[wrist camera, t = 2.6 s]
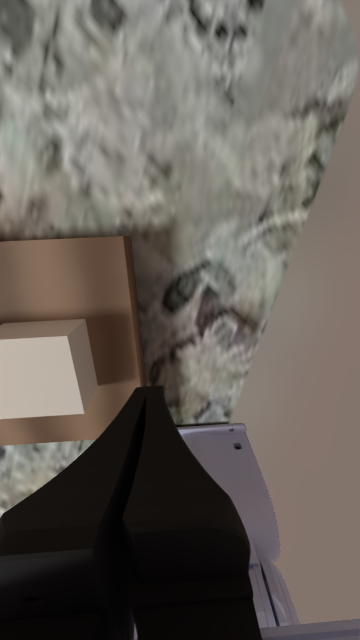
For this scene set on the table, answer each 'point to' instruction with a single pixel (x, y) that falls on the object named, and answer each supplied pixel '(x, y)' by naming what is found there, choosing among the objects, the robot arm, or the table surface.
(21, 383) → the cream tile
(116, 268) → the brown wooden board
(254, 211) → the table surface
